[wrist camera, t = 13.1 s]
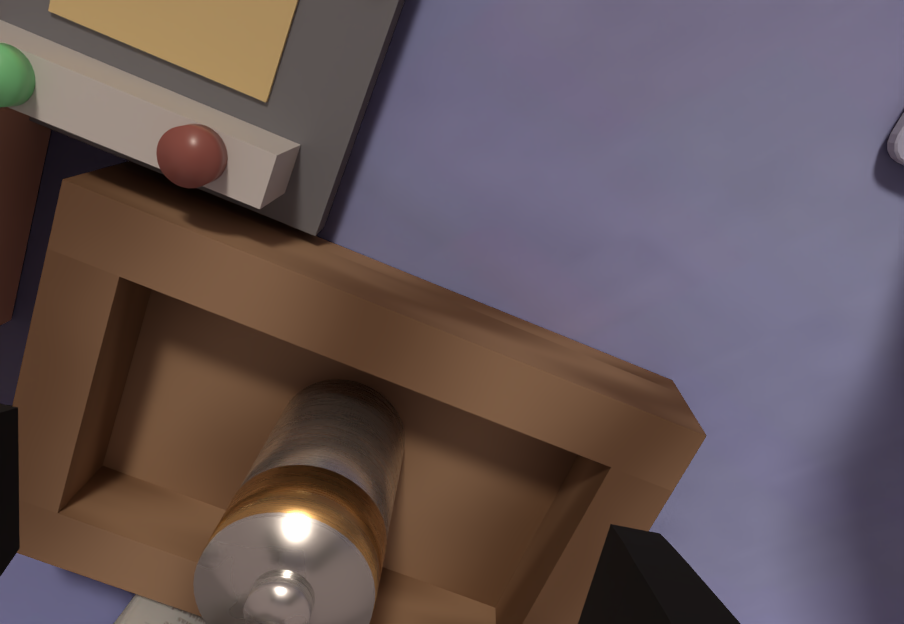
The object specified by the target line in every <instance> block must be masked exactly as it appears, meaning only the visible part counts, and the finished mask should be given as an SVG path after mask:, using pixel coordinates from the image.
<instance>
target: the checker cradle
mask: <svg viewBox="0 0 904 624" xmlns="http://www.w3.org/2000/svg"><path fill="white" fill-rule="evenodd" d="M404 2H405V0H0V107H8V108H11V109H13V110H16V111H18V112H21V113H23V114H26V115H28V116H30V118H29V120H30V121H32V122H35V123H37V124H39V125H42V126H44V127H47V128H49V129H52V130H54V131H57V132H59V133H62V134H64V135H67V136H69V137H72V138H74V139H77V140H79V141H81V142H84V143H86V144H89V145H91V146H94V147H96V148H99V149H101V150H104V151H106V152H109V153H111V154H114V155H116V156H119V157H121V158H123V159H126V160H128V161H131V162H133V163H136V164H138V165H141V166H143V167H146V168H148V169H151V170H153V171H156V172H158V173H161V174H163V175H165V176H166V177H167V178H168V179H169V180H170V181H171V182H172V183H174V184H176V185H178V186H180V187H184V188H198V189H200V190H203V191H205V192H208V193H210V194H212V195H215V196H217V197H220V198H222V199H225V200H227V201H230V202H232V203H235V204H237V205H240V206H242V207H245V208H247V209H250V210H252V211H254V212H257V213H259V214H262V215H264V216H267V217H269V218H272V219H274V220H277V221H279V222H282V223H284V224H287V225H289V226H292V227H294V228H297V229H299V230H301V231H304V232H306V233H309V234H311V235H314V236H316V235H317V234H318V233H319V232H320V231H321V230H322V229H323V228H324V226H325V223H326V220H327V218H328V215H329V212H330V209H331V206H332V204H333V201H334V198H335V195H336V192H337V190H338V187H339V184H340V181H341V178H342V176H343V173H344V170H345V167H346V164H347V162H348V159H349V156H350V153H351V150H352V147H353V145H354V142H355V139H356V136H357V133H358V131H359V128H360V125H361V122H362V119H363V117H364V114H365V111H366V108H367V105H368V103H369V100H370V97H371V94H372V91H373V89H374V86H375V83H376V80H377V77H378V75H379V72H380V69H381V66H382V63H383V60H384V58H385V55H386V52H387V49H388V46H389V44H390V41H391V38H392V35H393V32H394V30H395V27H396V24H397V21H398V18H399V16H400V13H401V10H402V7H403V4H404Z"/></svg>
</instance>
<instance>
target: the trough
mask: <svg viewBox="0 0 904 624" xmlns="http://www.w3.org/2000/svg"><path fill="white" fill-rule="evenodd" d="M335 379H341V380H350V381H355V382H358V383H362V384H364V385H367V386H369V387H371V388H373V389H374V390H376V391H378V392H379V393H381V394H382V395H383V396H384V397H386V398H387V399H388V400H389V402H390V403H391V404H392V405H393V406H394V408H395V409H396V410H397V412H398V414H399V416H400V418H401V420H402V423H403V426H404V430H405V449H404V454H403V459H402V464H401V470H400V475H399V480H398V485H397V490H396V495H395V500H394V505H393V510H392V516H391V521H390V526H389V531H388V536H387V544H386V551H385V556H384V562H383V567H382V572H381V577H380V582H379V588H378V593H377V598H376V603H375V608H374V611H373V614H372V617H371V620H370V623H369V624H578V622H579V619H580V616H581V613H582V610H583V607H584V604H585V601H586V598H587V594H588V591H589V588H590V585H591V582H592V579H593V576H594V573H595V570H596V567H597V564H598V561H599V558H600V555H601V552H602V549H603V546H604V543H605V540H606V537H607V534H608V531H609V528H610V524H614V525H619V526H624V527H629V528H634V529H639V530H644V531H649V529H650V528H651V526H652V525H653V523H654V521H655V520H656V518H657V516H658V515H659V513H660V511H661V510H662V508H663V506H664V505H665V503H666V502H667V500H668V498H669V497H670V495H671V493H672V492H673V490H674V488H675V487H676V485H677V483H678V482H679V480H680V479H681V477H682V475H683V474H684V472H685V470H686V469H687V467H688V465H689V464H690V462H691V460H692V459H693V457H694V456H695V454H696V452H697V451H698V449H699V447H700V446H701V444H702V442H703V441H704V439H705V438H706V434H705V433H704V431H703V429H702V428H701V426H700V424H699V423H698V421H697V420H696V418H695V416H694V415H693V413H692V411H691V410H690V408H689V406H688V405H687V403H686V402H685V400H684V398H683V397H682V395H681V393H680V392H679V390H678V389H677V387H676V385H675V384H674V382H673V380H670V379H668V378H665V377H663V376H660V375H658V374H656V373H653V372H651V371H648V370H646V369H643V368H641V367H638V366H636V365H633V364H631V363H628V362H626V361H623V360H621V359H618V358H616V357H614V356H611V355H609V354H606V353H604V352H601V351H599V350H596V349H594V348H591V347H589V346H586V345H584V344H581V343H579V342H576V341H574V340H571V339H569V338H567V337H564V336H562V335H559V334H557V333H554V332H552V331H549V330H547V329H544V328H542V327H539V326H537V325H534V324H532V323H529V322H527V321H525V320H522V319H520V318H517V317H515V316H512V315H510V314H507V313H505V312H502V311H500V310H497V309H495V308H492V307H490V306H487V305H485V304H483V303H480V302H478V301H475V300H473V299H470V298H468V297H465V296H463V295H460V294H458V293H455V292H453V291H450V290H448V289H445V288H443V287H441V286H438V285H436V284H433V283H431V282H428V281H426V280H423V279H421V278H418V277H416V276H413V275H411V274H408V273H406V272H403V271H401V270H398V269H396V268H394V267H391V266H389V265H386V264H384V263H381V262H379V261H376V260H374V259H371V258H369V257H366V256H364V255H361V254H359V253H356V252H354V251H352V250H349V249H347V248H344V247H342V246H339V245H337V244H334V243H332V242H329V241H327V240H324V239H322V238H319V237H317V236H314V235H311V234H309V233H306V232H304V231H301V230H299V229H297V228H294V227H292V226H289V225H287V224H284V223H282V222H279V221H277V220H274V219H272V218H269V217H267V216H264V215H262V214H259V213H257V212H254V211H252V210H250V209H247V208H245V207H242V206H240V205H237V204H235V203H232V202H230V201H227V200H225V199H222V198H220V197H217V196H215V195H212V194H210V193H208V192H205V191H203V190H200V189H198V188H184V187H180V186H178V185H176V184H174V183H172V182H171V181H170V180H169V179H168V178H167V177H166V176H165V175H163V174H161V173H158V172H156V171H153V170H151V169H148V168H146V167H143V166H141V165H138V164H136V163H133V162H131V161H128V162H124V163H121V164H117V165H113V166H110V167H106V168H102V169H99V170H95V171H91V172H87V173H84V174H80V175H76V176H73V177H69V178H65V179H62V184H61V188H60V193H59V197H58V202H57V206H56V211H55V215H54V220H53V225H52V229H51V234H50V238H49V243H48V247H47V252H46V256H45V261H44V265H43V270H42V274H41V279H40V283H39V288H38V292H37V297H36V301H35V306H34V310H33V315H32V320H31V324H30V329H29V333H28V338H27V342H26V347H25V351H24V356H23V360H22V365H21V369H20V374H19V378H18V383H17V387H16V392H15V396H14V401H13V405H12V406H14V407H18V442H19V536H20V548H19V550H18V551H17V553H19V554H22V555H25V556H28V557H31V558H34V559H36V560H39V561H42V562H45V563H48V564H51V565H54V566H57V567H60V568H62V569H65V570H68V571H71V572H74V573H77V574H80V575H83V576H86V577H88V578H91V579H94V580H97V581H100V582H103V583H106V584H109V585H112V586H114V587H117V588H120V589H123V590H126V591H129V592H132V593H135V594H138V595H140V596H143V597H146V598H149V599H152V600H155V601H158V602H161V603H164V604H166V605H169V606H172V607H175V608H178V609H181V610H184V611H187V612H190V613H192V614H195V615H198V616H201V614H200V612H199V609H198V607H197V604H196V600H195V596H194V586H193V582H194V573H195V570H196V566H197V563H198V561H199V559H200V556H201V554H202V552H203V549H204V548H205V546H206V544H207V542H208V541H209V539H210V537H211V535H212V534H213V532H214V530H215V528H216V527H217V525H218V523H219V521H220V520H221V518H222V516H223V514H224V513H225V511H226V509H227V507H228V506H229V504H230V502H231V500H232V499H233V497H234V496H235V494H236V493H237V491H238V490H239V488H240V486H241V485H242V483H243V481H244V479H245V478H246V476H247V474H248V472H249V471H250V469H251V467H252V465H253V464H254V462H255V460H256V458H257V457H258V455H259V453H260V451H261V449H262V448H263V446H264V444H265V442H266V441H267V439H268V437H269V435H270V434H271V432H272V430H273V428H274V427H275V425H276V423H277V421H278V420H279V418H280V416H281V414H282V413H283V411H284V409H285V407H286V406H287V404H288V403H289V401H290V400H291V399H292V398H293V397H294V396H295V395H296V394H297V393H298V392H300V391H301V390H303V389H304V388H306V387H308V386H310V385H312V384H314V383H317V382H321V381H326V380H335ZM201 617H202V616H201Z"/></svg>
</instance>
